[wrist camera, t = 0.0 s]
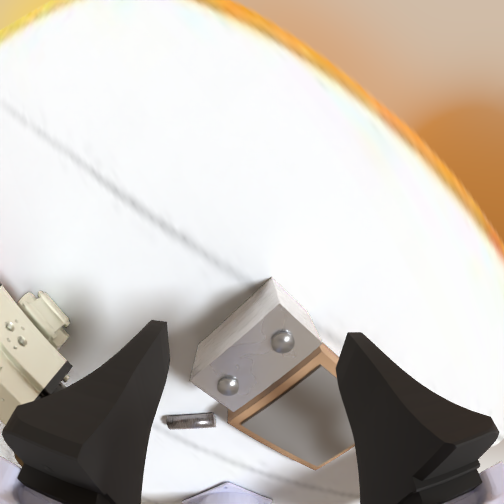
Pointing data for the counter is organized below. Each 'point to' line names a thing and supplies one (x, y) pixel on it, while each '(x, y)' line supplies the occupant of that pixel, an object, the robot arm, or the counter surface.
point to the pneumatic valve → (30, 350)
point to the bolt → (191, 421)
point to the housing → (254, 347)
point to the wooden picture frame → (300, 413)
